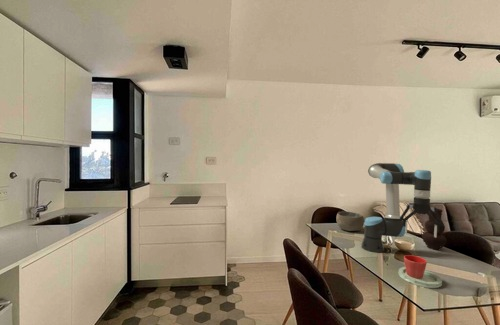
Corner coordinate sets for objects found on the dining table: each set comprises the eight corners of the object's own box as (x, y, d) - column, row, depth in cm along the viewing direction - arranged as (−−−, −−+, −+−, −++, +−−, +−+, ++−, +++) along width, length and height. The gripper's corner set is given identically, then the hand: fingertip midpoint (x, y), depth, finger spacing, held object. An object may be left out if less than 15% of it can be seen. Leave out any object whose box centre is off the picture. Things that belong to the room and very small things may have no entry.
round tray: (398, 281, 133) (399, 277, 133) (398, 267, 150) (398, 263, 150) (445, 292, 123) (445, 288, 123) (438, 275, 140) (438, 272, 140)
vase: (438, 253, 174) (440, 212, 173) (416, 245, 188) (418, 207, 188) (451, 250, 180) (452, 210, 180) (429, 243, 194) (430, 206, 194)
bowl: (333, 225, 241) (334, 210, 240) (359, 226, 237) (359, 211, 237) (339, 232, 217) (339, 216, 216) (367, 234, 213) (368, 217, 213)
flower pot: (430, 281, 131) (431, 263, 131) (408, 279, 133) (408, 261, 133) (420, 272, 142) (421, 256, 141) (400, 270, 144) (400, 254, 144)
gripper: (396, 196, 139) (394, 232, 140) (451, 201, 126) (449, 240, 127) (396, 194, 146) (394, 229, 146) (448, 198, 133) (447, 236, 134)
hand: (420, 234), depth 137 cm, fingers open, 13 cm apart
